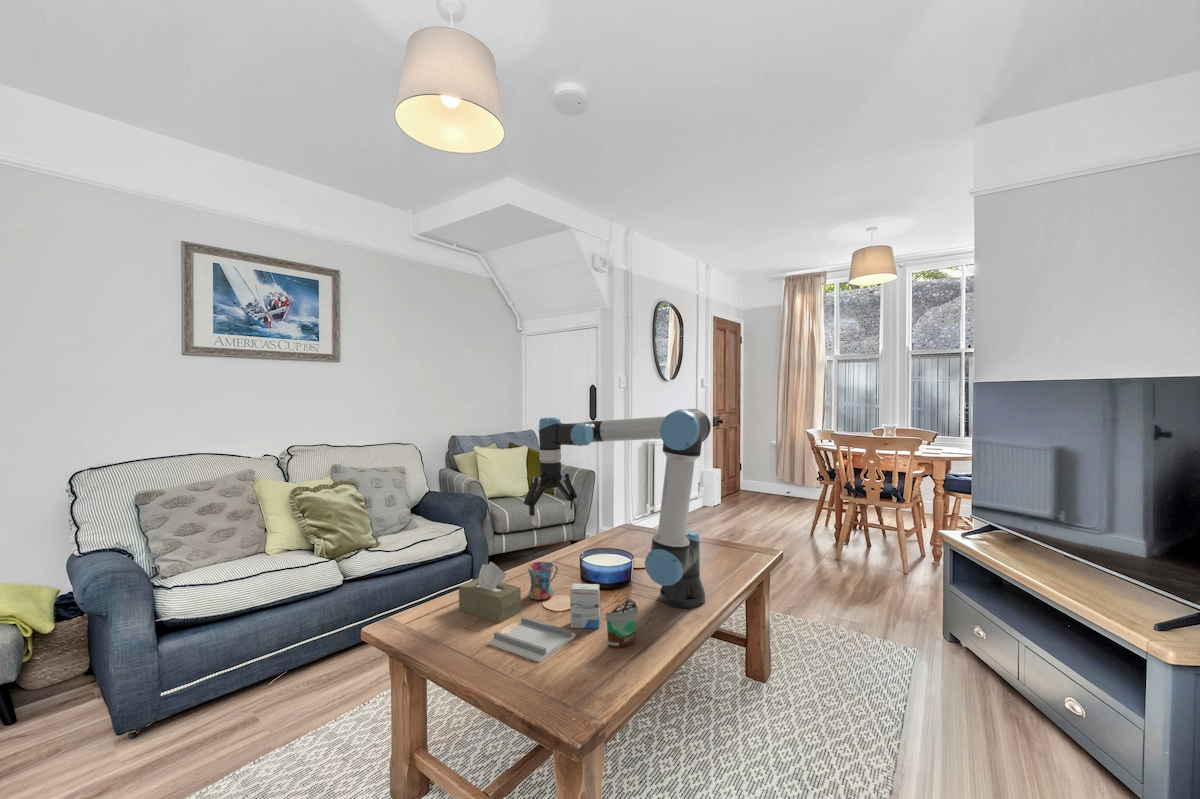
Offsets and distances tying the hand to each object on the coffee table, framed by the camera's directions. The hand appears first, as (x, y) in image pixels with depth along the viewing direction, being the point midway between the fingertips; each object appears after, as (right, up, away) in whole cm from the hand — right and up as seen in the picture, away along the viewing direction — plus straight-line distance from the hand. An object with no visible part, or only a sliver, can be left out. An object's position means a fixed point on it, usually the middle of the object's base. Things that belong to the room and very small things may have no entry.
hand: (551, 521), depth 179 cm
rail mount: (-2, -25, -36) cm, 44 cm away
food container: (+24, -25, -37) cm, 51 cm away
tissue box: (-18, -26, -15) cm, 35 cm away
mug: (-2, -25, -3) cm, 25 cm away
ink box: (+13, -25, -26) cm, 38 cm away
